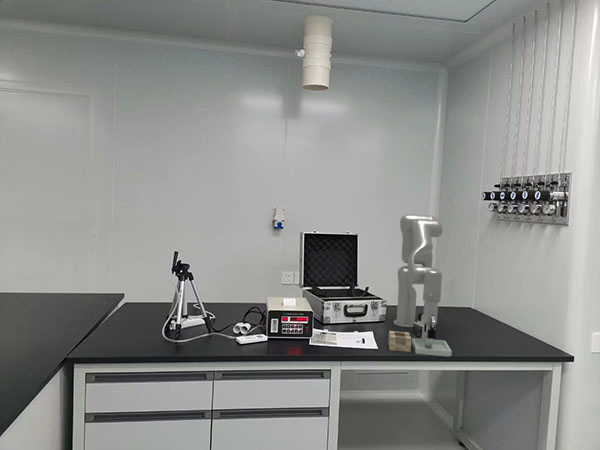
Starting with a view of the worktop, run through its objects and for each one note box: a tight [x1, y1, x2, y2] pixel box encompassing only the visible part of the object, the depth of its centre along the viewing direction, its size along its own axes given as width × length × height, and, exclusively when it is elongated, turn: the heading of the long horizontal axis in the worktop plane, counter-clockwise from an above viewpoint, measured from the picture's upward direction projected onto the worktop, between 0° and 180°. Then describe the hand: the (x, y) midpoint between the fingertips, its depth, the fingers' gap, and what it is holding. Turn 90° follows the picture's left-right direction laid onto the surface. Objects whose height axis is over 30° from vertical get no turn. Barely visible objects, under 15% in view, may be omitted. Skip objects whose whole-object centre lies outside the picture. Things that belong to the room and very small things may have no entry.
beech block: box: [388, 330, 412, 353], centre depth 204 cm, size 9×9×6 cm
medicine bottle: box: [412, 312, 426, 339], centre depth 220 cm, size 7×7×12 cm
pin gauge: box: [425, 322, 434, 349], centre depth 203 cm, size 3×3×12 cm
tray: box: [411, 337, 453, 358], centre depth 203 cm, size 15×15×2 cm
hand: (429, 335), depth 203 cm, fingers open, 9 cm apart
